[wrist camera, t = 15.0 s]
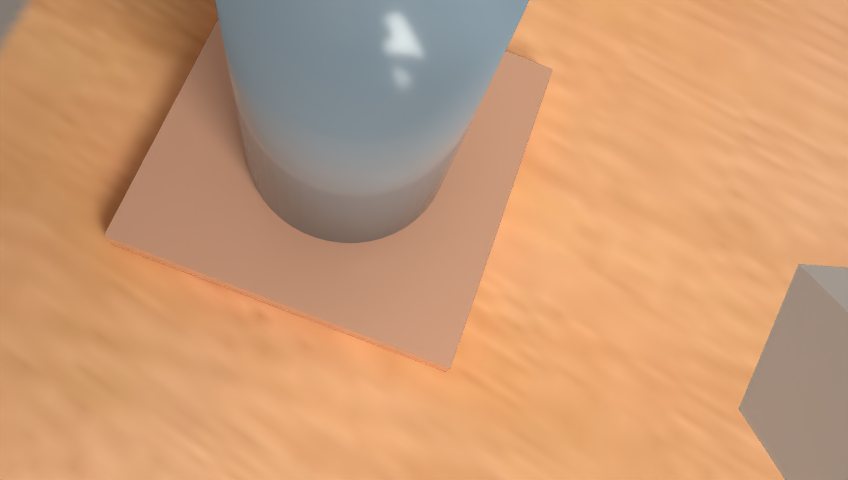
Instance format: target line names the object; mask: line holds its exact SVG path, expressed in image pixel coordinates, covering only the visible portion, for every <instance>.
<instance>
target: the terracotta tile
mask: <svg viewBox="0 0 848 480" xmlns="http://www.w3.org/2000/svg"><path fill="white" fill-rule="evenodd" d="M552 70H553V69H551V68H548V67H546V66H543V65H541V64H538V63H536V62H533V61H531V60H528V59H526V58H523V57H521V56H518V55H516V54H513V53H511V52H508V51H505V53H504V55H503V57H502V59H501V61H500V63H499V65H498V68H497V70H496V72H495V74H494V76H493V78H492V80H491V82H490V84H489V86H488V89H487V91H486V93H485V95H484V97H483V99H482V101H481V103H480V105H479V107H478V109H477V112H476V114H475V116H474V118H473V120H472V122H471V124H470V126H469V128H468V130H467V132H466V135H465V137H464V139H463V141H462V143H461V145H460V147H459V149H458V151H457V153H456V156H455V158H454V160H453V162H452V164H451V166H450V168H449V170H448V172H447V174H446V176H445V179H444V181H443V183H442V185H441V187H440V189H439V191H438V193H437V194H436V196H435V198H434V200H433V201H432V203H431V204H430V205H429V207H428V208H427V209H426V210H425V211H424V212H423V213H422V214H421V215H420V216H419V217H418V218H417V219H416V220H415V221H414V222H412V223H411V224H410V225H408V226H407V227H405V228H403V229H402V230H400V231H398V232H396V233H394V234H392V235H389V236H387V237H384V238H381V239H377V240H373V241H369V242H360V243H339V242H332V241H326V240H323V239H319V238H315V237H313V236H310V235H308V234H305V233H303V232H301V231H299V230H297V229H296V228H294V227H292V226H290V225H289V224H288V223H286V222H285V221H284V220H282V219H281V218H280V217H279V216H278V215H276V214H275V213H274V212H273V211H272V210H271V209H270V208H269V206H268V205H267V204H266V202H265V201H264V200H263V199H262V197H261V196H260V194H259V192H258V190H257V189H256V187H255V185H254V182H253V180H252V178H251V175H250V171H249V168H248V164H247V159H246V154H245V149H244V144H243V139H242V134H241V129H240V124H239V119H238V114H237V109H236V104H235V99H234V94H233V89H232V84H231V79H230V74H229V69H228V64H227V59H226V54H225V49H224V44H223V39H222V34H221V29H220V24H219V18H218V20H217V22H216V24H215V26H214V27H213V29H212V31H211V33H210V35H209V37H208V39H207V41H206V43H205V45H204V46H203V48H202V50H201V52H200V54H199V56H198V58H197V60H196V62H195V63H194V65H193V67H192V69H191V71H190V73H189V75H188V77H187V79H186V81H185V82H184V84H183V86H182V88H181V90H180V92H179V94H178V96H177V98H176V100H175V101H174V103H173V105H172V107H171V109H170V111H169V113H168V115H167V117H166V118H165V120H164V122H163V124H162V126H161V128H160V130H159V132H158V134H157V136H156V137H155V139H154V141H153V143H152V145H151V147H150V149H149V151H148V153H147V155H146V156H145V158H144V160H143V162H142V164H141V166H140V168H139V170H138V172H137V174H136V175H135V177H134V179H133V181H132V183H131V185H130V187H129V189H128V191H127V192H126V194H125V196H124V198H123V200H122V202H121V204H120V206H119V208H118V210H117V211H116V213H115V215H114V217H113V219H112V221H111V223H110V225H109V227H108V229H107V230H106V232H105V234H104V237H105V238H106V239H107V240H108V241H109V242H110V243H111V244H113V245H115V246H118V247H121V248H123V249H126V250H128V251H131V252H134V253H136V254H139V255H142V256H144V257H147V258H149V259H152V260H155V261H157V262H160V263H162V264H165V265H168V266H170V267H173V268H176V269H178V270H181V271H183V272H186V273H189V274H191V275H194V276H196V277H199V278H202V279H204V280H207V281H210V282H212V283H215V284H217V285H220V286H223V287H225V288H228V289H230V290H233V291H236V292H238V293H241V294H244V295H246V296H249V297H251V298H254V299H257V300H259V301H262V302H264V303H267V304H270V305H272V306H275V307H278V308H280V309H283V310H285V311H288V312H291V313H293V314H296V315H298V316H301V317H304V318H306V319H309V320H312V321H314V322H317V323H319V324H322V325H325V326H327V327H330V328H332V329H335V330H338V331H340V332H343V333H346V334H348V335H351V336H353V337H356V338H359V339H361V340H364V341H366V342H369V343H372V344H374V345H377V346H380V347H382V348H385V349H387V350H390V351H393V352H395V353H398V354H400V355H403V356H406V357H408V358H411V359H414V360H416V361H419V362H421V363H424V364H427V365H429V366H432V367H434V368H437V369H440V370H442V371H445V372H446V371H447V370H449V369H450V368H451V365H452V362H453V359H454V356H455V353H456V350H457V348H458V345H459V342H460V339H461V336H462V333H463V330H464V327H465V324H466V321H467V318H468V315H469V312H470V310H471V307H472V304H473V301H474V298H475V295H476V292H477V289H478V286H479V283H480V280H481V277H482V274H483V271H484V269H485V266H486V263H487V260H488V257H489V254H490V251H491V248H492V245H493V242H494V239H495V236H496V233H497V231H498V228H499V225H500V222H501V219H502V216H503V213H504V210H505V207H506V204H507V201H508V198H509V195H510V193H511V190H512V187H513V184H514V181H515V178H516V175H517V172H518V169H519V166H520V163H521V160H522V157H523V154H524V152H525V149H526V146H527V143H528V140H529V137H530V134H531V131H532V128H533V125H534V122H535V119H536V116H537V114H538V111H539V108H540V105H541V102H542V99H543V96H544V93H545V90H546V87H547V84H548V81H549V78H550V75H551V73H552Z"/></svg>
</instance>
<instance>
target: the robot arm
mask: <svg viewBox="0 0 848 480" xmlns="http://www.w3.org/2000/svg"><path fill="white" fill-rule="evenodd" d="M739 410H740V412H741V413H742V415H743V416H744V418H745V419H746V421H747V422H748V424H749V425H750V427H751V428H752V430H753V431H754V433H755V434H756V436H757V437H758V439H759V441H760V442H761V444H762V445H763V447H764V448H765V450H766V451H767V453H768V454H769V456H770V457H771V459H772V460H773V462H774V463H775V465H776V466H777V468H778V469H779V471H780V472H781V474H782V475H783V477H784V478H785V480H848V268H845V267H832V266H819V265H806V264H799V265H798V267H797V270H796V272H795V274H794V277H793V279H792V282H791V284H790V286H789V289H788V291H787V294H786V296H785V298H784V301H783V303H782V306H781V308H780V311H779V313H778V315H777V318H776V320H775V323H774V325H773V327H772V330H771V332H770V335H769V337H768V339H767V342H766V344H765V347H764V349H763V352H762V354H761V356H760V359H759V361H758V364H757V366H756V368H755V371H754V373H753V376H752V378H751V380H750V383H749V385H748V388H747V390H746V393H745V395H744V397H743V400H742V402H741V405H740V407H739Z"/></svg>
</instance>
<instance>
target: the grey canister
mask: <svg viewBox="0 0 848 480" xmlns="http://www.w3.org/2000/svg"><path fill="white" fill-rule="evenodd" d="M528 1H529V0H215V3H216V8H217V13H218V18H219V24H220V29H221V34H222V39H223V44H224V49H225V54H226V59H227V64H228V69H229V74H230V79H231V84H232V89H233V94H234V99H235V104H236V109H237V114H238V119H239V124H240V129H241V134H242V139H243V144H244V149H245V154H246V159H247V164H248V168H249V171H250V175H251V178H252V180H253V182H254V185H255V187H256V189H257V190H258V192H259V194H260V196H261V197H262V199H263V200H264V201H265V202H266V204H267V205H268V206H269V208H270V209H271V210H272V211H273V212H274V213H275V214H276V215H278V216H279V217H280V218H281V219H282V220H284V221H285V222H286V223H288V224H289V225H290V226H292V227H294V228H296V229H297V230H299V231H301V232H303V233H305V234H308V235H310V236H313V237H315V238H319V239H323V240H326V241H332V242H339V243H360V242H369V241H373V240H377V239H381V238H384V237H387V236H389V235H392V234H394V233H396V232H398V231H400V230H402V229H403V228H405V227H407V226H408V225H410V224H411V223H412V222H414V221H415V220H416V219H417V218H418V217H419V216H420V215H421V214H422V213H423V212H424V211H425V210H426V209H427V208H428V207H429V205H430V204H431V203H432V201H433V200H434V198H435V196H436V194H437V193H438V191H439V189H440V187H441V185H442V183H443V181H444V179H445V176H446V174H447V172H448V170H449V168H450V166H451V164H452V162H453V160H454V158H455V156H456V153H457V151H458V149H459V147H460V145H461V143H462V141H463V139H464V137H465V135H466V132H467V130H468V128H469V126H470V124H471V122H472V120H473V118H474V116H475V114H476V112H477V109H478V107H479V105H480V103H481V101H482V99H483V97H484V95H485V93H486V91H487V89H488V86H489V84H490V82H491V80H492V78H493V76H494V74H495V72H496V70H497V68H498V65H499V63H500V61H501V59H502V57H503V55H504V53H505V51H506V49H507V47H508V45H509V42H510V40H511V38H512V36H513V34H514V32H515V30H516V28H517V26H518V24H519V22H520V19H521V17H522V15H523V13H524V11H525V9H526V6H527V4H528Z"/></svg>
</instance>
